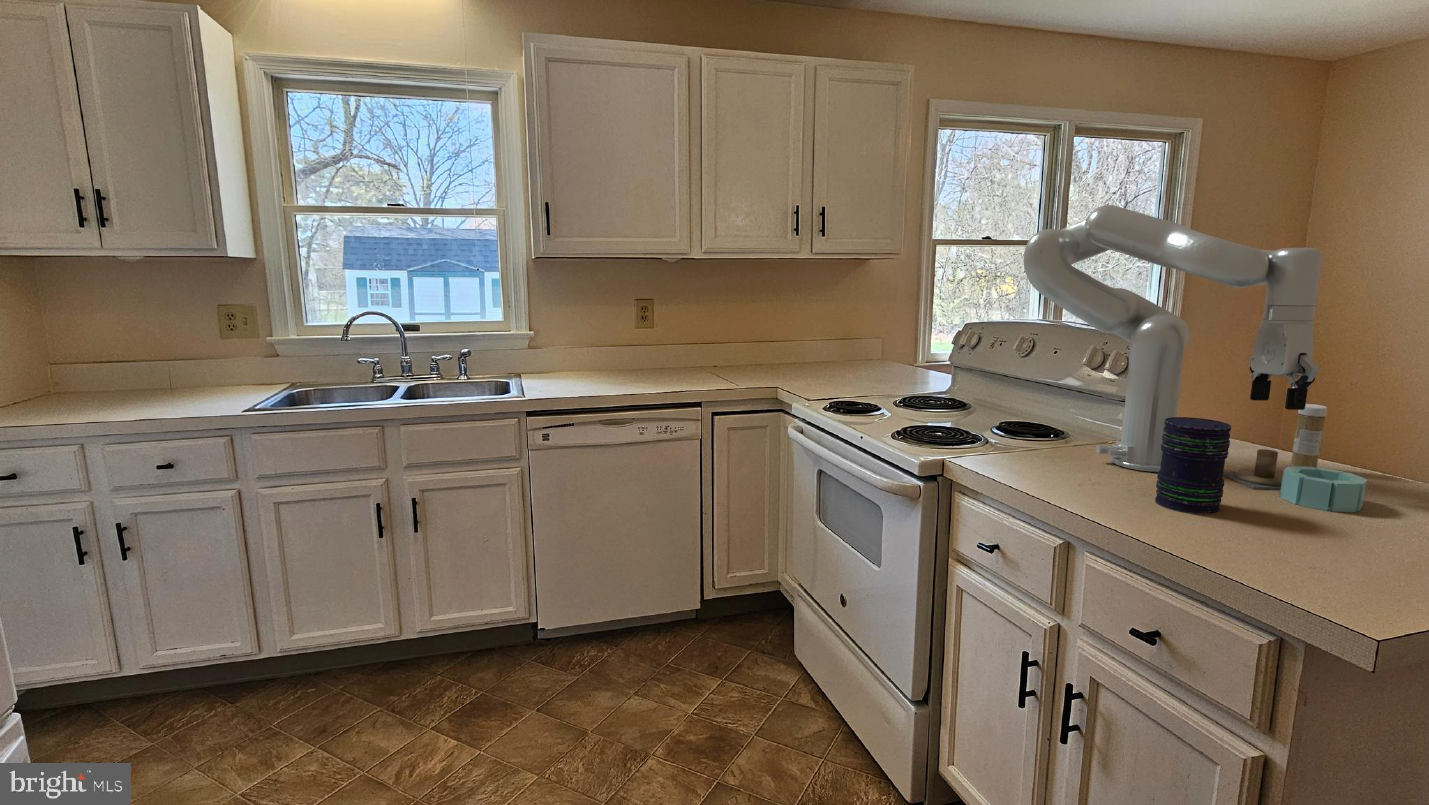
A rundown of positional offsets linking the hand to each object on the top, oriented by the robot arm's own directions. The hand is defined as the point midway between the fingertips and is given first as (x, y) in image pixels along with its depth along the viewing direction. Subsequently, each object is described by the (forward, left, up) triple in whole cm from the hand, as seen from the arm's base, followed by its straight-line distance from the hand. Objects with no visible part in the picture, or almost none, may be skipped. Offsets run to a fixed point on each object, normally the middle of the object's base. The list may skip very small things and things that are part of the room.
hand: (1276, 404), depth 137 cm
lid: (0, 0, -15) cm, 15 cm away
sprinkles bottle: (+15, +11, -16) cm, 24 cm away
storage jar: (-23, -16, -16) cm, 32 cm away
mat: (0, 0, -16) cm, 16 cm away
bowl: (+2, -12, -16) cm, 20 cm away
